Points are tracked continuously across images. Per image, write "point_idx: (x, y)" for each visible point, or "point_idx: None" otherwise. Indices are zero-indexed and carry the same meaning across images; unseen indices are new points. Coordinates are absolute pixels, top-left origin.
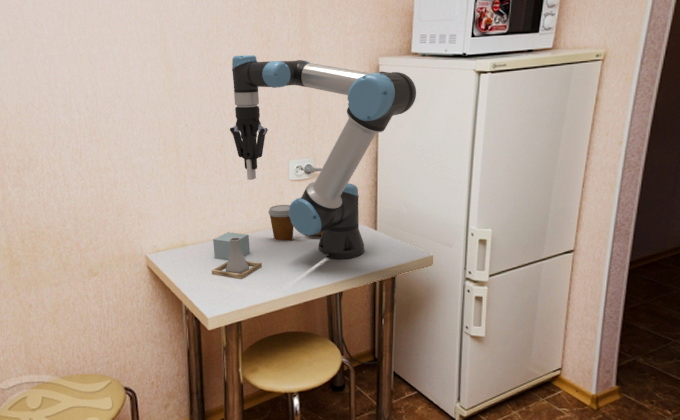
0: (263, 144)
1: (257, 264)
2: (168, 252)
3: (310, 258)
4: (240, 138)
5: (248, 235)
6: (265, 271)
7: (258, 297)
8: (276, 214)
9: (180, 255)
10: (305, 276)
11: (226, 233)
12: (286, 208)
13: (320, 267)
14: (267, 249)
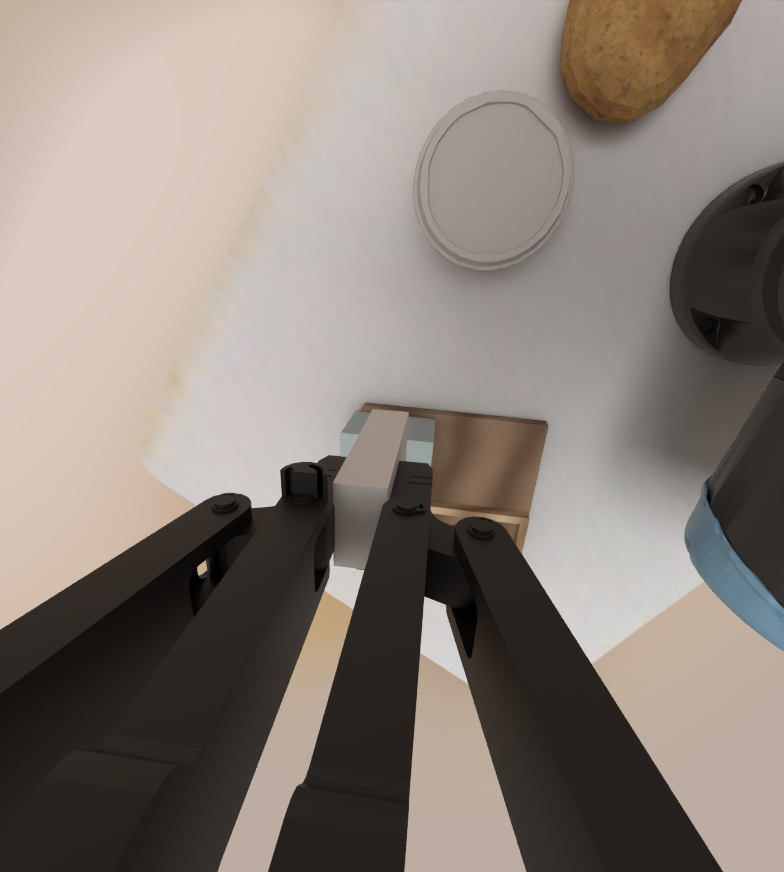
0: (596, 683)
1: (521, 529)
2: (178, 443)
3: (651, 375)
4: (2, 733)
5: (433, 442)
6: (537, 508)
7: (583, 640)
8: (488, 266)
9: (228, 456)
10: (670, 516)
11: (344, 447)
12: (517, 164)
13: (706, 443)
14: (460, 331)
